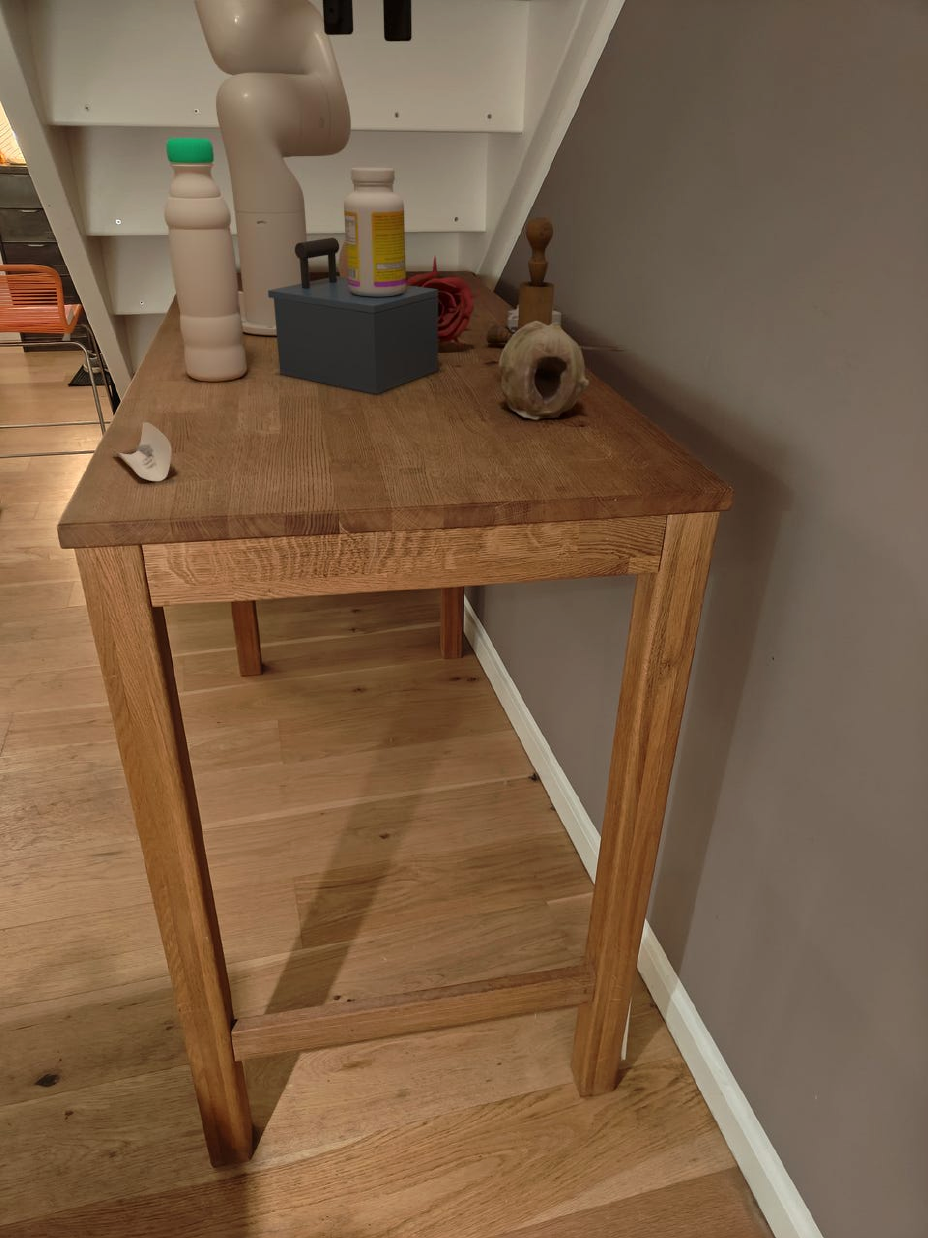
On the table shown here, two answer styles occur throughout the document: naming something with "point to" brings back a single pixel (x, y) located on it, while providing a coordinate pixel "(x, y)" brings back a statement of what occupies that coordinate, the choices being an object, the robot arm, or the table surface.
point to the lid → (340, 285)
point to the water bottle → (203, 265)
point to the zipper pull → (513, 319)
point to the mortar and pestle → (537, 277)
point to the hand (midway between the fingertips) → (369, 37)
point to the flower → (448, 303)
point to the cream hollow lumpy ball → (542, 371)
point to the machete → (503, 335)
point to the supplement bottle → (375, 234)
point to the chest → (357, 344)
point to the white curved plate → (150, 454)
